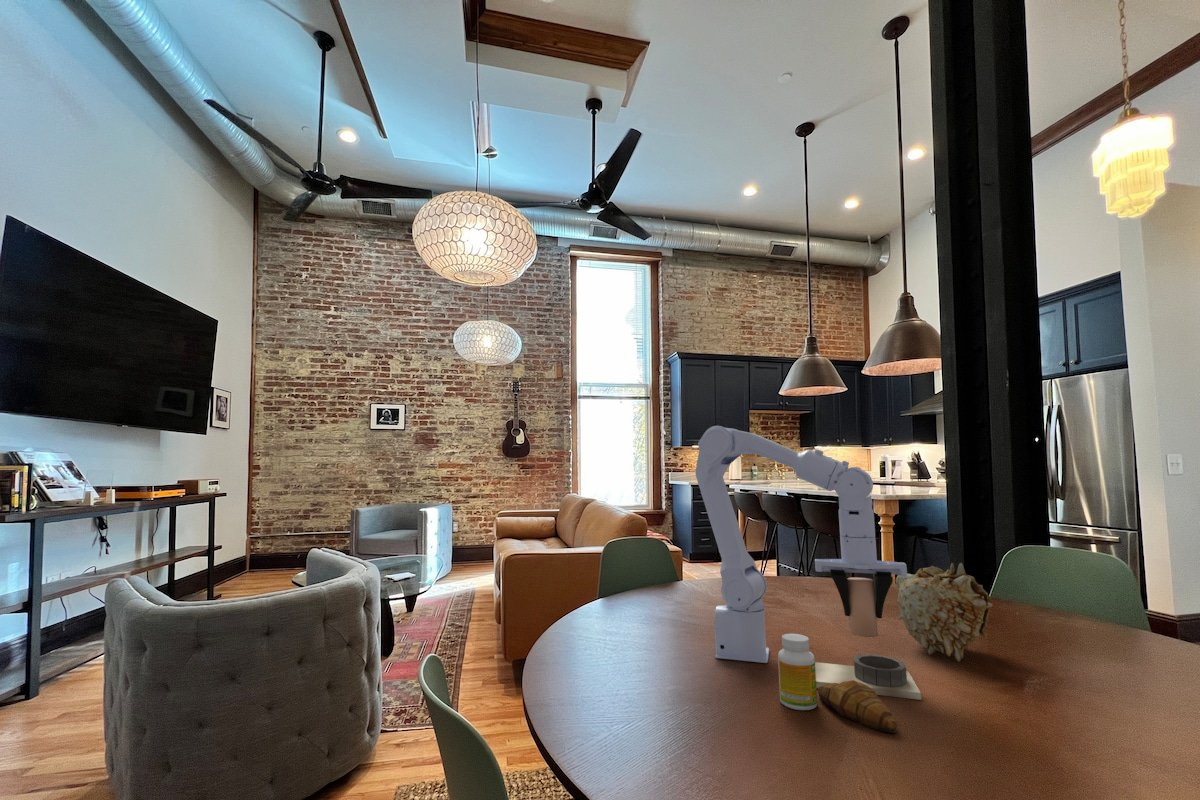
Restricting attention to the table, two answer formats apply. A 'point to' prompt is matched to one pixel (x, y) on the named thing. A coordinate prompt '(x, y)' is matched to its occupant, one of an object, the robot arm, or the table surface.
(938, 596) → the seashell
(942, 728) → the table surface
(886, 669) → the holder board
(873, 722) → the croissant
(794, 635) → the supplement bottle
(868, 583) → the peg
